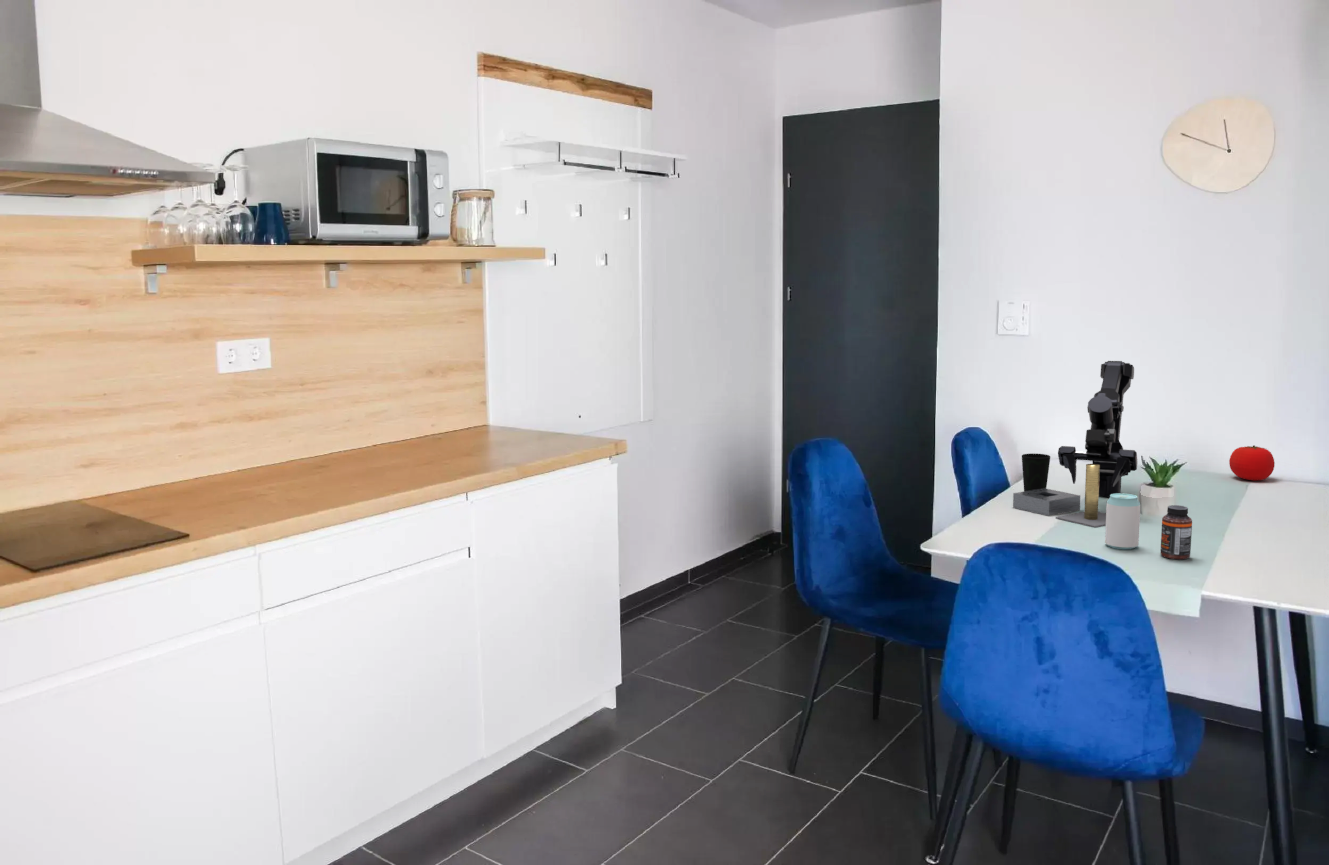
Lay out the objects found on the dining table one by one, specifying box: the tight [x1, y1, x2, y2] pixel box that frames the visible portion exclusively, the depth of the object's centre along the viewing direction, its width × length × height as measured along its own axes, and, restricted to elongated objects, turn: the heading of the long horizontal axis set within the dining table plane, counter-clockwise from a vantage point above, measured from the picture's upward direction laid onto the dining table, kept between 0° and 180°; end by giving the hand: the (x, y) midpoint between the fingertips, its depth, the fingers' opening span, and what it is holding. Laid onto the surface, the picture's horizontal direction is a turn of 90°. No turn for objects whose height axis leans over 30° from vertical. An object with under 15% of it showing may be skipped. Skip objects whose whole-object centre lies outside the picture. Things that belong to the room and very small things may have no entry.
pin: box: [1083, 463, 1100, 520], centre depth 255 cm, size 3×3×14 cm
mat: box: [1055, 511, 1106, 529], centre depth 256 cm, size 14×12×1 cm
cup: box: [1021, 453, 1051, 492], centre depth 284 cm, size 8×8×12 cm
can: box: [1104, 492, 1141, 550], centre depth 229 cm, size 7×7×12 cm
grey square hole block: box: [1012, 487, 1081, 517], centre depth 269 cm, size 12×12×4 cm
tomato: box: [1228, 445, 1276, 482], centre depth 301 cm, size 12×12×10 cm
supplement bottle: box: [1160, 504, 1193, 561], centre depth 220 cm, size 6×6×11 cm
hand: (1092, 484), depth 256 cm, fingers open, 9 cm apart
